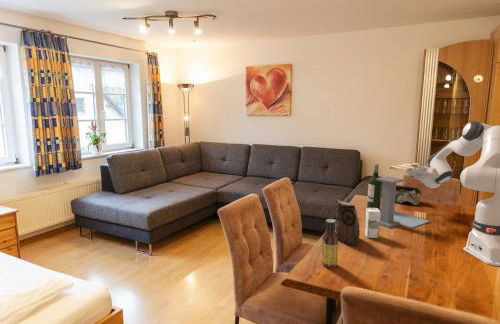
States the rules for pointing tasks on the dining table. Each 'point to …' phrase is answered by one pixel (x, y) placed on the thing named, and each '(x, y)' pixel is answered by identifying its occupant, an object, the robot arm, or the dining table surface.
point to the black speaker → (347, 223)
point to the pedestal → (388, 201)
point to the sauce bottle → (330, 245)
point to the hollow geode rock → (407, 194)
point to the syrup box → (372, 222)
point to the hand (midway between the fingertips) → (413, 164)
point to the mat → (408, 220)
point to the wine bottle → (374, 190)
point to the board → (404, 167)
